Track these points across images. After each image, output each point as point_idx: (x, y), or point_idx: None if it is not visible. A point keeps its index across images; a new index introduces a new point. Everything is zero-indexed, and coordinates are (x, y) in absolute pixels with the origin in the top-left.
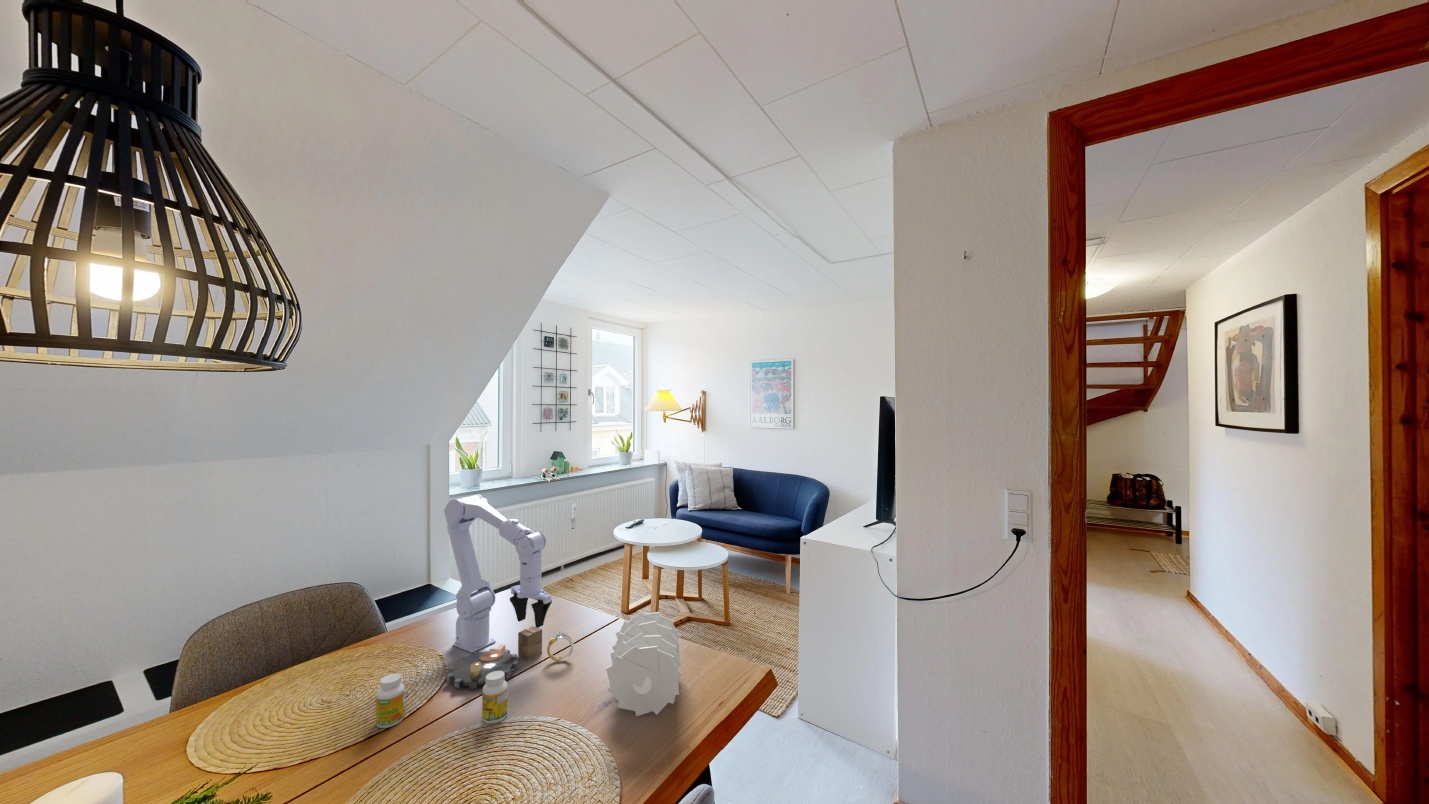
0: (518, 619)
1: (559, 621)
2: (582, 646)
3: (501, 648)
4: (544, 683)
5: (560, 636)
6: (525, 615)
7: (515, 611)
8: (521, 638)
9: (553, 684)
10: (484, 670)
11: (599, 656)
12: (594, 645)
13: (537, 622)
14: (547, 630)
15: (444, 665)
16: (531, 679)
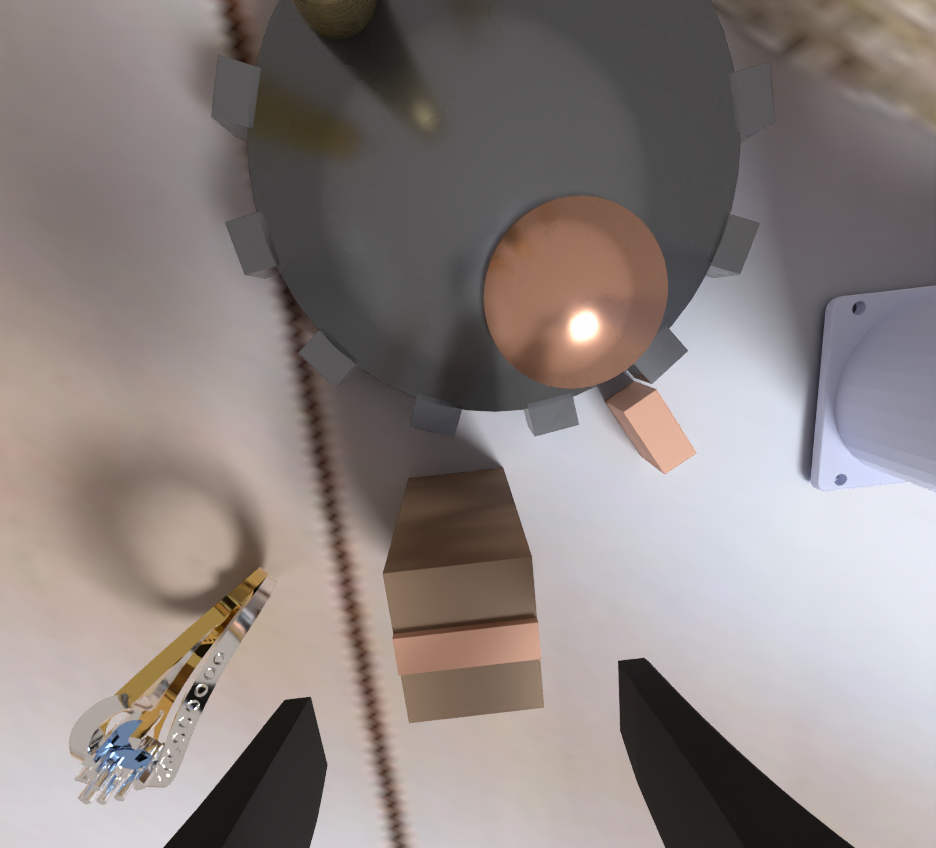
0: (636, 676)
1: None
2: None
3: (635, 424)
4: (61, 389)
5: (101, 740)
6: (637, 777)
7: (746, 764)
8: (477, 537)
9: (9, 418)
10: (395, 117)
11: None
12: None
13: (233, 765)
14: None
15: (856, 66)
16: (169, 365)
